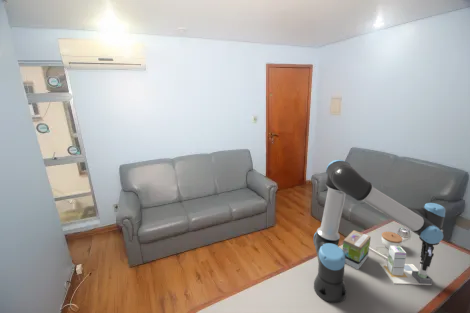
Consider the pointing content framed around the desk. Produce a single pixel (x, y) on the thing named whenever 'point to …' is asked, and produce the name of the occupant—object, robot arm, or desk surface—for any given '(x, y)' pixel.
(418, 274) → the button
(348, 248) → the tea box
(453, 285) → the desk surface
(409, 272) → the white button panel
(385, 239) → the lidded jar
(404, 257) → the syrup box
